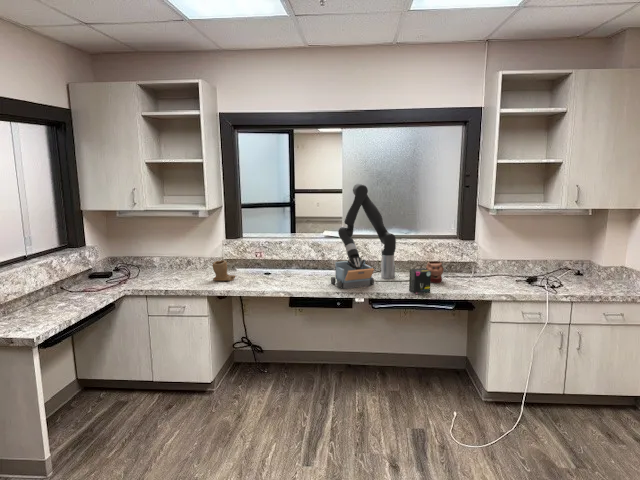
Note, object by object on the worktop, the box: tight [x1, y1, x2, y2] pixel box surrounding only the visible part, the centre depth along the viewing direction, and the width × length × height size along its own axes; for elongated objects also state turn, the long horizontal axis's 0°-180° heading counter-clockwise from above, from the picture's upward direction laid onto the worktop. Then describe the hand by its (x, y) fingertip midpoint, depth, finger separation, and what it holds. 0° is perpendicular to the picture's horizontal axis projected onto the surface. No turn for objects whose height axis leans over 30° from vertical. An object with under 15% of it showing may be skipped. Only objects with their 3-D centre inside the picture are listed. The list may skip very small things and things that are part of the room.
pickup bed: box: [330, 260, 375, 290], centre depth 290 cm, size 26×17×16 cm, turn 110°
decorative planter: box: [425, 260, 444, 284], centre depth 296 cm, size 20×12×14 cm, turn 177°
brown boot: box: [211, 259, 236, 282], centre depth 304 cm, size 15×12×15 cm
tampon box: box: [408, 267, 432, 295], centre depth 270 cm, size 11×9×15 cm
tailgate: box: [345, 267, 375, 281], centre depth 278 cm, size 19×2×9 cm
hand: (359, 272), depth 278 cm, fingers closed
